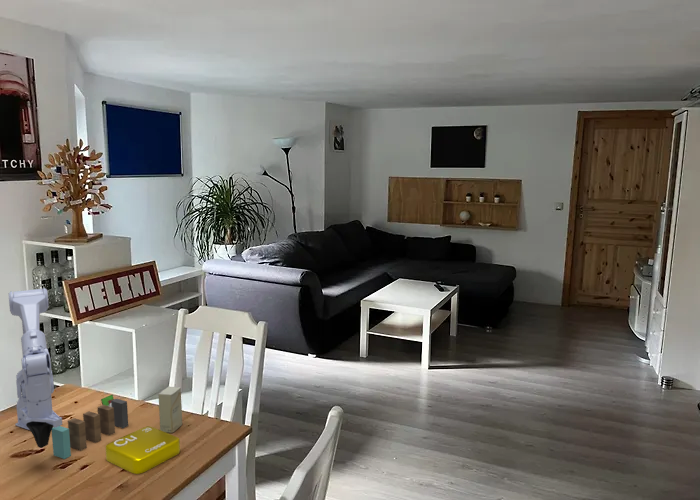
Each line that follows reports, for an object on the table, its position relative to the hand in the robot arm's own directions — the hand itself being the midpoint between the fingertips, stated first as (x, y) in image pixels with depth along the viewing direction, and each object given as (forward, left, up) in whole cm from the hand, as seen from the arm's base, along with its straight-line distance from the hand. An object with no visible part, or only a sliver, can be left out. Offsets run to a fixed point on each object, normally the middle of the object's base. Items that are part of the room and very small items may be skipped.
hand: (43, 445), depth 150 cm
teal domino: (0, +5, -5) cm, 8 cm away
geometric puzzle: (-8, +28, -6) cm, 30 cm away
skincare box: (+15, +31, -6) cm, 35 cm away
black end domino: (0, +25, -5) cm, 26 cm away
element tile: (+20, +16, -6) cm, 26 cm away
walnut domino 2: (0, +15, -5) cm, 16 cm away
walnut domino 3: (0, +20, -5) cm, 21 cm away
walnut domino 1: (0, +10, -5) cm, 12 cm away
